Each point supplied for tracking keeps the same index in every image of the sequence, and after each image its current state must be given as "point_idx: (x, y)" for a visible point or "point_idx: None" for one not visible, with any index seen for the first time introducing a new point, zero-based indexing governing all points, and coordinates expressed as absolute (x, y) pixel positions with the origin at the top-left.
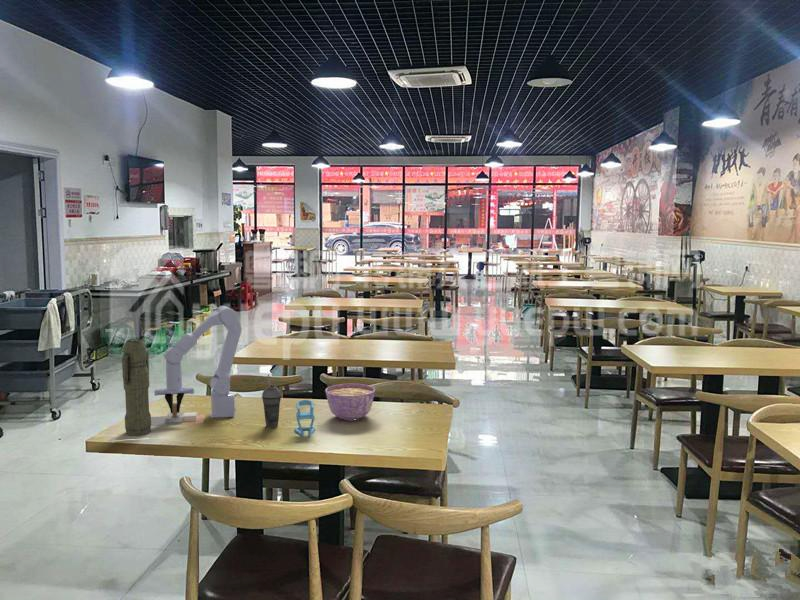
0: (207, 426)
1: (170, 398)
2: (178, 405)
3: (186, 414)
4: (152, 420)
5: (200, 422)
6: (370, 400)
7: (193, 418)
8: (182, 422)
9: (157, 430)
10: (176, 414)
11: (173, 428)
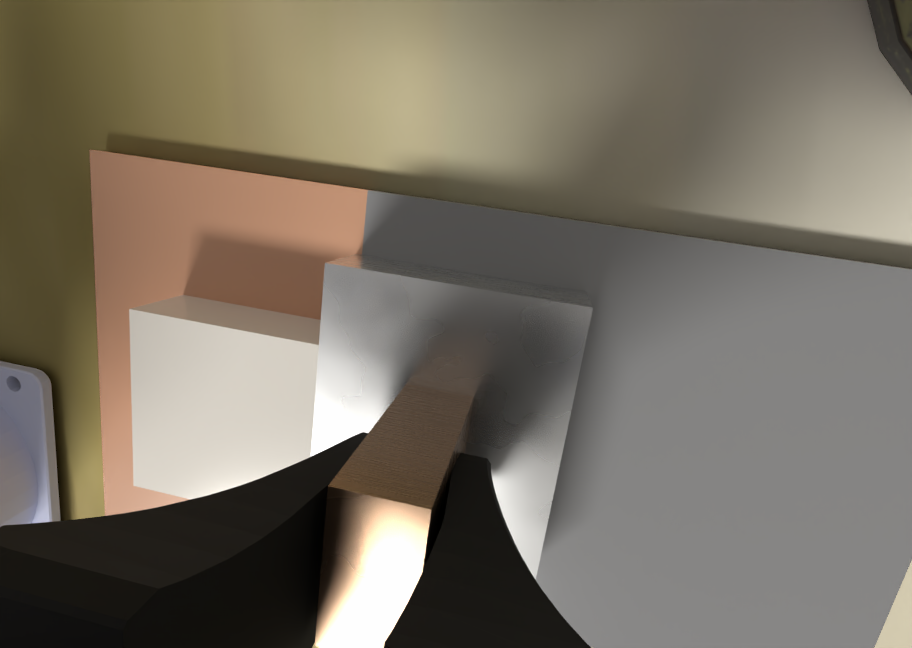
0: (41, 26)
1: (420, 638)
2: (294, 483)
3: (268, 425)
4: (765, 528)
5: (123, 188)
6: None
7: (193, 305)
8: None
9: (739, 30)
10: (403, 394)
11: (485, 70)
